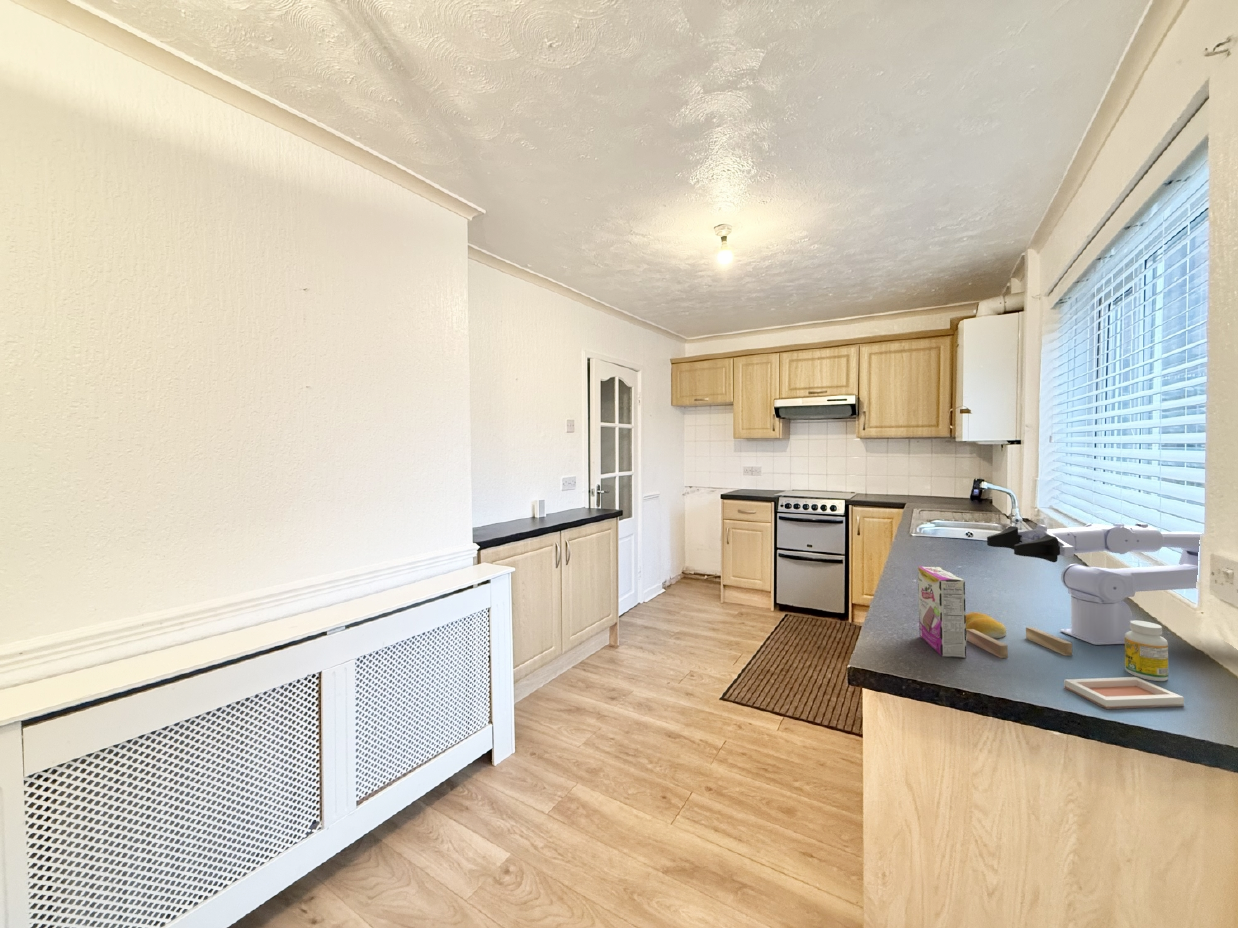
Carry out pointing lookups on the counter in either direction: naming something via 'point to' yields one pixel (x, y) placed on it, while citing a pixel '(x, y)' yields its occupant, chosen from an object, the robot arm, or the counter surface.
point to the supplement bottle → (1146, 651)
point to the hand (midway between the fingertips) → (1001, 545)
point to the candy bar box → (942, 611)
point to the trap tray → (1123, 693)
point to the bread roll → (985, 625)
